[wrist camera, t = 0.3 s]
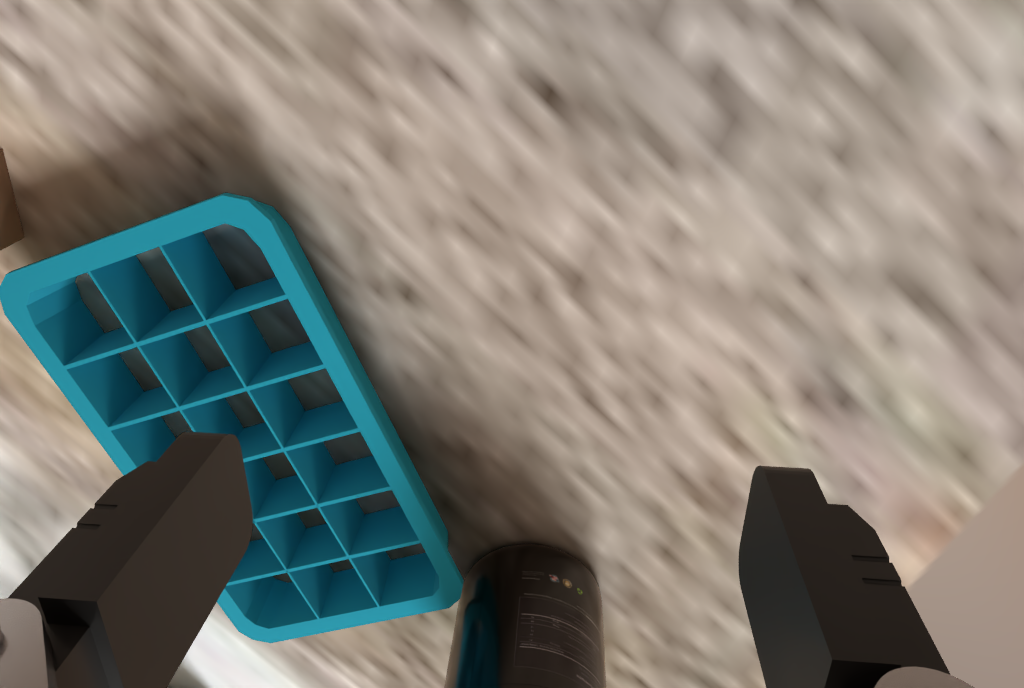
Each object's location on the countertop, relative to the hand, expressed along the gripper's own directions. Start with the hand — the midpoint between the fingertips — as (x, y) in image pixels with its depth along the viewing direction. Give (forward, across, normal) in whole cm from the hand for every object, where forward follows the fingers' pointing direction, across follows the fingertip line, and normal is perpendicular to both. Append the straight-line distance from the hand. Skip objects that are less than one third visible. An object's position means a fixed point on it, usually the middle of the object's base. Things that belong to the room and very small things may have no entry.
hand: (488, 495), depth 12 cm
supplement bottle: (+18, 0, +20) cm, 27 cm away
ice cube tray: (+18, +12, +10) cm, 24 cm away
